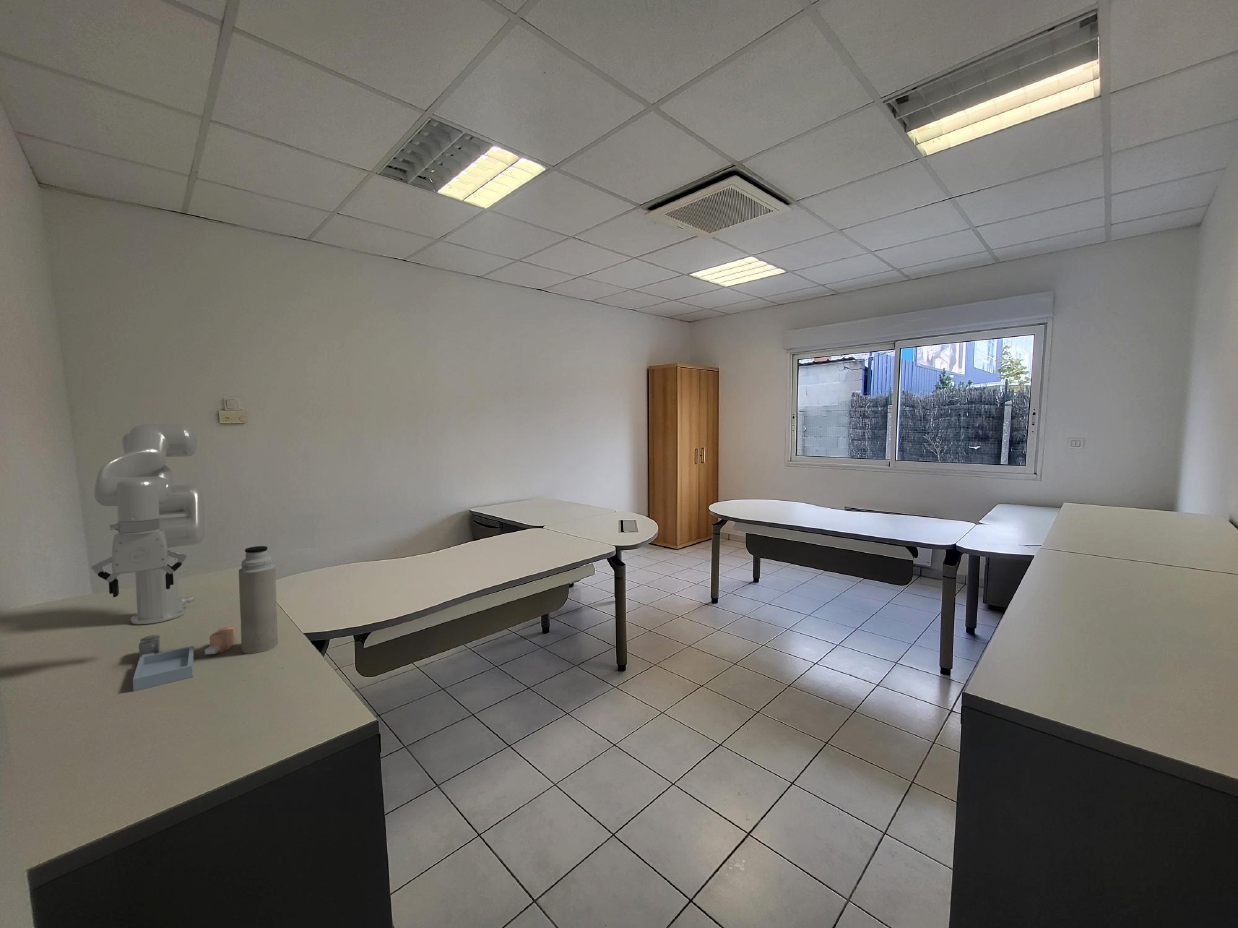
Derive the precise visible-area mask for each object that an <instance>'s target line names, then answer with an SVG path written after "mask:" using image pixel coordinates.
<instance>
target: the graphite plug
mask: <svg viewBox="0 0 1238 928" xmlns="http://www.w3.org/2000/svg"><path fill="white" fill-rule="evenodd" d="M160 637H161V636H160V634H154V635H153V634H152V635H148V636H145V637H142V638H140V641H139V643H138V654H139V655H138V656H139V658H138V659H140V657H142V656H147V655H152V654H157V653H161V638H160Z"/></svg>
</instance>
